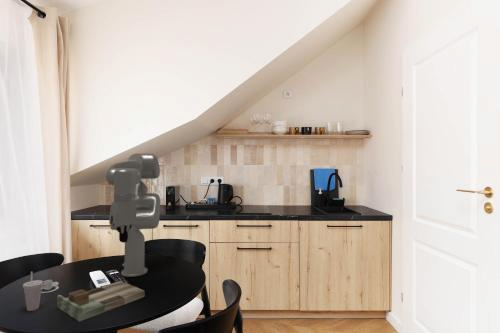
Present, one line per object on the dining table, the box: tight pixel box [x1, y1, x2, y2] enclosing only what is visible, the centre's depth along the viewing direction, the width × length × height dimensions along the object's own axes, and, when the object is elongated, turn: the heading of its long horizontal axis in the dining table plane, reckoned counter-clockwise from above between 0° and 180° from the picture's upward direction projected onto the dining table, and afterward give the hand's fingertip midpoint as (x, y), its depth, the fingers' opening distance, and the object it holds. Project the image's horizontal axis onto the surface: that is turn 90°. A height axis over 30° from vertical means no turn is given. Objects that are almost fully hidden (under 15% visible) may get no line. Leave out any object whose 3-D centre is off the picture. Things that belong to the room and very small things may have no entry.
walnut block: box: [68, 289, 89, 306], centre depth 116 cm, size 5×5×4 cm
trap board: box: [56, 280, 146, 323], centre depth 123 cm, size 18×26×4 cm
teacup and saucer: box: [41, 279, 60, 294], centre depth 135 cm, size 9×8×4 cm
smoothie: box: [22, 271, 44, 312], centre depth 117 cm, size 6×6×14 cm
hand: (123, 241), depth 130 cm, fingers closed
